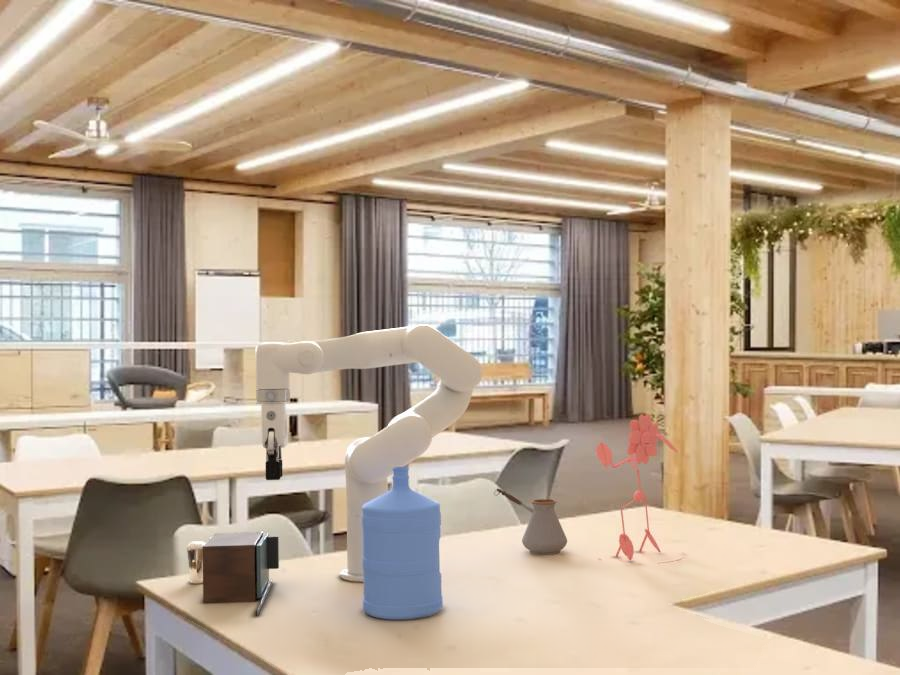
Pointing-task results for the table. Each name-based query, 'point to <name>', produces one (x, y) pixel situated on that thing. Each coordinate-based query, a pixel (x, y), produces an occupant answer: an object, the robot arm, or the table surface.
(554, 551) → the coffee pot
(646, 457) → the figurine
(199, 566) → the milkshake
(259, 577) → the glass door
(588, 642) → the table surface
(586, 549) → the table surface
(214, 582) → the cabinet
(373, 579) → the water jug
